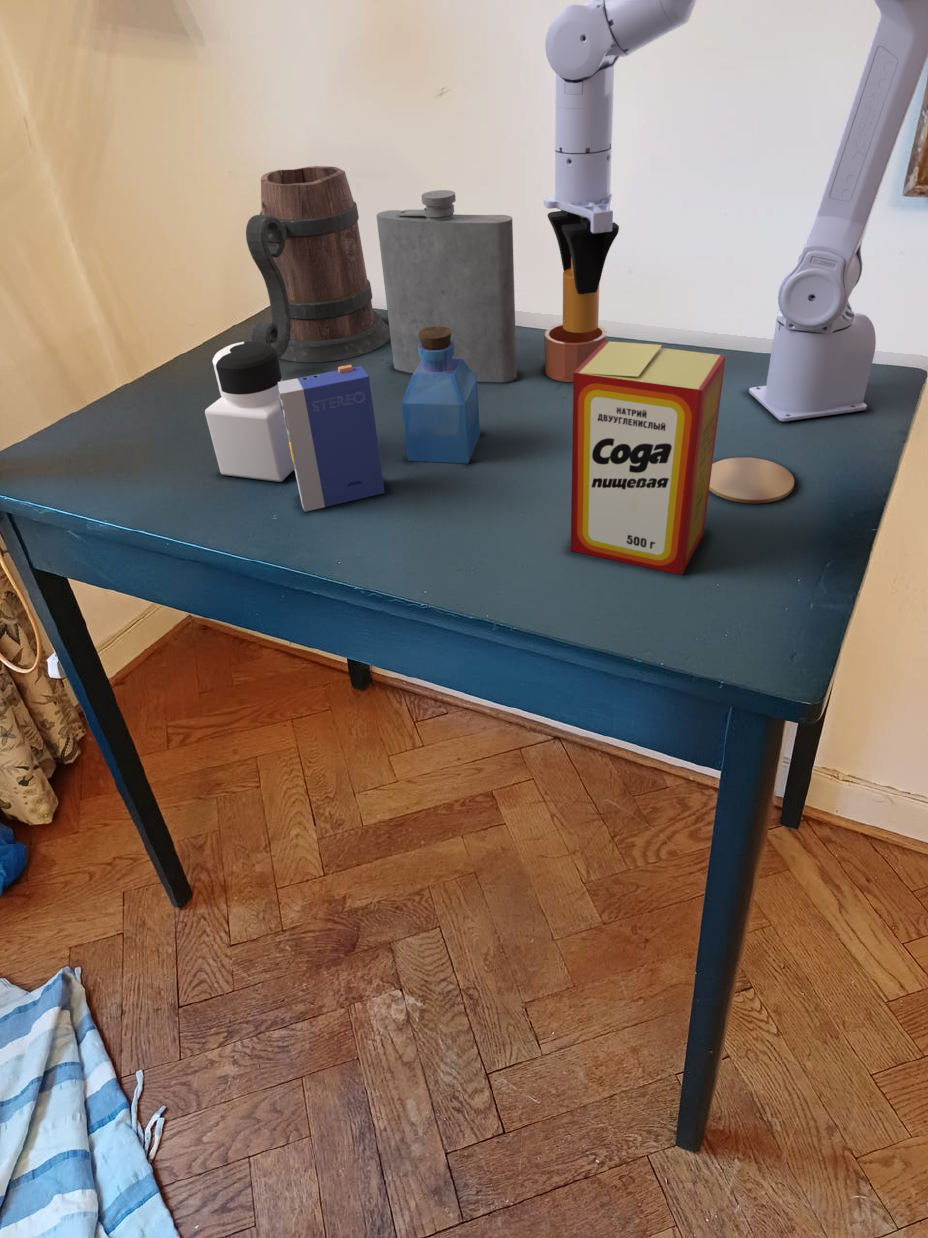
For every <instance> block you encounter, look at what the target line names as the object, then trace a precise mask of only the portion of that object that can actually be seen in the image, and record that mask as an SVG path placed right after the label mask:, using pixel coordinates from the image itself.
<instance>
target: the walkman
mask: <svg viewBox="0 0 928 1238" xmlns="http://www.w3.org/2000/svg"><path fill="white" fill-rule="evenodd" d="M278 386H279V388H278V390H279V396H280V399H278V400H279V405H280V410H281V414H282V419H283V424H284V427H286V429H287V434H288V439H289V446H290V450H291V455H292V459H293V464H294V473H295V478H296V485H297V488H298V493H299V498H300V503H301V506H302V509H303V511H304V512H311V511H314V510H315V511H316V510H320V509H323V508H327V507H331V506H335V505H339V504H344V503H348V502H352V501H357V500H360V499H361V500H362V499H366V498H370V497H374V496H377V495H383V494H385V492H386V491H385V485H384V478H383V472H382V471H383V470H382V463H381V462H382V461H381V457H380V456H381V455H380V448H379V440H378V432H377V426H376V419H375V411H374V410H375V409H374V405H373V397H372V388H371V381H370V376H369V374H368V373H367V372H366V370H365V369H364V367H363V366H362V365H359V366H358V365H357V366H352V364H347V365H341V366H337V370H332V371H327V372H322V373H317V374H312V375H305V376H302V377H297V378H292V379H286V380H282V381H281V382H278Z"/></svg>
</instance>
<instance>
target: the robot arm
mask: <svg viewBox="0 0 928 1238" xmlns="http://www.w3.org/2000/svg"><path fill="white" fill-rule="evenodd" d="M873 1H874V3H875V5H876V7H877V8H878V10H879V13H880V15H879V20H878V23H877V26H876V28H875V32H874V35H873V37H872V40H871V44H870V47H869V49H868V50H869V51H868V54H867V57H866V59H865V63H864V66H863V69H862V72H861V75H860V78H859V82H858V84H857V88H856V90H855V94H854V98H853V101H852V103H851V107H850V110H849V114H848V116H847V119H846V122H845V125H844V128H843V131H842V134H841V137H840V141H839V144H838V147H837V149H836V152H835V156H834V159H833V162H832V165H831V168H830V172H829V175H828V178H827V181H826V184H825V188H824V191H823V195H822V196H821V200H820V203H819V206H818V208H817V209H818V210H817V212H816V216H815V218H814V221H813V223H812V226H811V228H810V230H809V233H808V235H807V238H806V240H805V243H804V245H803V247H802V251H801V253H800V255H799V257H798V260H797V262H796V264H795V265H794V267H793V268H792V269H791V270H790V271H789V272H788V273H787V274H786V275H785V277H784V279H783V280H782V282H781V283H780V286H779V289H778V294H777V304H778V308H779V309H778V310H777V312H776V319H775V327H774V332H773V338H772V345H771V346H772V347H771V352H770V359H769V364H768V370H767V377H766V385H759V386H755V387H754V386H752V387H750V388H749V389H748V393H749V394H750V395H751V396H752V397H753V398H754V399H756V401H758V402H759V403H760V404H761V405H762V406H763V407H764V408H765V409H766V410H768V412H770V413H771V414H772V415H773V416H774V417H775V418H776V419H777V420H778V421H780V422H790V421H791V422H792V421H798V420H804V419H811V418H820V417H825V416H834V415H840V414H849V413H855V412H861V411H866V410H867V408H868V405H867V404H866V403H865V402H864V401H865V395H866V392H867V387H868V383H869V380H870V374H871V371H872V370H871V369H872V366H873V362H874V356H875V352H876V345H877V341H876V339H877V338H876V337H877V336H876V331H875V330H876V329H875V327H874V324H873V322H872V320H871V319H870V318H869V317H868V316H867V315H866V314H864V313H862V312H854V311H853V310H852V306H851V304H850V301H849V299H850V297H851V294H852V293H853V291H854V289H855V287H856V286H857V285H858V283H859V281H860V279H861V276H862V274H863V259H862V246H863V241H864V239H865V236H866V233H867V230H868V226H869V223H870V217H871V215H872V212H873V209H874V208H875V207H874V206H875V204H876V201H877V199H878V196H879V193H880V189H881V188H882V184H883V182H884V179H885V176H886V173H887V170H888V168H889V165H890V162H891V159H892V156H893V155H894V154H893V153H894V151H895V148H896V145H897V143H898V140H899V137H900V134H901V131H902V129H903V126H904V123H905V120H906V118H907V115H908V113H909V110H910V106H911V104H912V102H913V99H914V95H915V92H916V90H917V87H918V85H919V81H920V79H921V76H922V73H923V70H924V68H925V65H926V62H927V60H928V0H873ZM697 2H698V0H590V2H588V3H584V4H580V3H575V4H570V5H566V6H565V7H564V8H563V10H562V11H561V12H560V13H559V14H557V16H556V17H554V19H553V20H552V22H551V23H550V25H549V27H548V29H547V32H546V36H545V43H544V45H545V54H546V59H547V61H548V64H549V67H550V68H551V69H552V70H553V72H554V194H553V196H547V197H544V198H543V206H544V207H545V208H546V209H557V210H556V211H550V212H548V213H547V218H548V221H549V223H550V225H551V227H552V229H553V232H554V235H555V237H556V240H557V245H558V248H559V253H560V260H561V265H562V269H563V272H564V271H565V270H567V269H570V268H571V257H572V263H573V272H574V281H575V286H576V290H577V293H578V294H587V293H595V292H597V290H598V286H599V287H600V282H601V279H602V275H603V271H604V267H605V263H606V259H607V256H608V253H609V251H610V249H611V247H612V245H613V243H614V241H615V239H616V238H617V236H618V234H619V230H620V226H619V225H618V224H617V223H616V222H614V221H613V219H614V211H613V210H612V204H613V193H612V192H611V188H612V187H611V186H612V159H613V158H612V157H613V128H614V127H613V125H614V124H613V123H614V99H615V96H614V79H615V65H616V64H617V62H618V61H619V59H620V58H626V57H628V56H630V55H631V54H634V53H635V52H637V51H638V50H640V49H643V48H644V47H646V46H647V45H650V44H651V43H653V42H655V41H657V40H659V39H661V38H662V37H664V36H666V35H667V34H669V33H671V32H673V31H674V30H677V29H678V28H681V27H682V26H684V25H686V24H687V23H688V22H689V21H690V18H691V17H692V14H693V12H694V9H695V7H696V5H697ZM570 252H571V254H570Z"/></svg>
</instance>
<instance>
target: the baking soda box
mask: <svg viewBox="0 0 928 1238" xmlns="http://www.w3.org/2000/svg"><path fill="white" fill-rule="evenodd" d="M662 346H663V344H655V343H654V344H653V343H639V342H624V341H607V340H606V341H604V342H603V343H602V344H601V345H600V346H599V347H598V348H597V349H596V350H595V351H594V352H593V353H592V354H591V355H590V356H589V357H588V358H587V359H586V360H585V361H584V362H583V363H582V364H581V365H580V366H579V367H578V369H577V370H576V371H575V372H574V373H573V382H572V385H573V386H572V391H573V392H572V437H571V438H572V442H571V443H572V444H571V445H572V446H571V496H570V497H571V501H570V503H571V504H570V552H574V553H579V554H584V555H587V556H593V557H598V558H602V559H606V560H611V561H616V562H620V563H624V564H629V565H633V566H639V567H644V568H648V569H651V570H656V571H657V570H658V571H660V572H661V571H662V572H665V573H670V574H676V575H678V576H679V575H680V576H683V574H684V572H685V570H686V568H687V566H688V565H689V562H690V561H691V558H692V557H693V555H694V553H695V551H696V549H697V548H698V545H699V543H700V542H701V540H702V538H703V536H704V533H705V526H706V517H707V509H708V502H709V493H710V490H709V486H710V478H711V470H712V464H713V463H714V462H713V461H714V454H715V446H716V437H717V430H718V429H717V428H718V422H719V414H720V405H721V398H722V397H721V396H722V391H723V382H724V381H723V380H724V373H725V366H726V358H727V357H726V356H727V355H725V354H716V353H709V352H708V353H707V352H701V351H692V350H682V349H675V348H666V347H662Z"/></svg>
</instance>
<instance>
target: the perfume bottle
mask: <svg viewBox="0 0 928 1238" xmlns="http://www.w3.org/2000/svg"><path fill="white" fill-rule="evenodd" d="M451 332H452V330H451V329H449V328H447V327H441V326H435V327H428V328H425V329H422V330H421V331H419V333H418V335H419V338H420V341H421V343H420V344H419V345H418V352H419V357H420V359H422V360H421V362H420V363H419V365H418V367H417V368H416V370H415V371H414V373H412V375H411V378H410V380H409V383H408V385H407V387H406V390H405V393H404V396H403V398H402V401H401V411H402V419H403V428H404V438H405V446H406V455H407V461H408V462H423V463H424V462H425V463H426V462H427V463H428V462H429V463H446V464H447V463H448V464H449V463H450V464H469V463H470V460H471V459H472V456H473V453H474V452H475V451H474V450H475V448H476V446H477V443H478V441H479V439H480V436H481V430H480V412H479V411H480V410H479V409H480V408H479V394H478V382H477V378H476V377H475V375H474V374H473V373H472V371H471V370H470V369H469V367H468V366H467V365H466V363H465V362H464V360H463V359H453V358H452V357H453V356H454V354H455V349H454V342H453V341H451V340H450V339H451Z"/></svg>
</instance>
